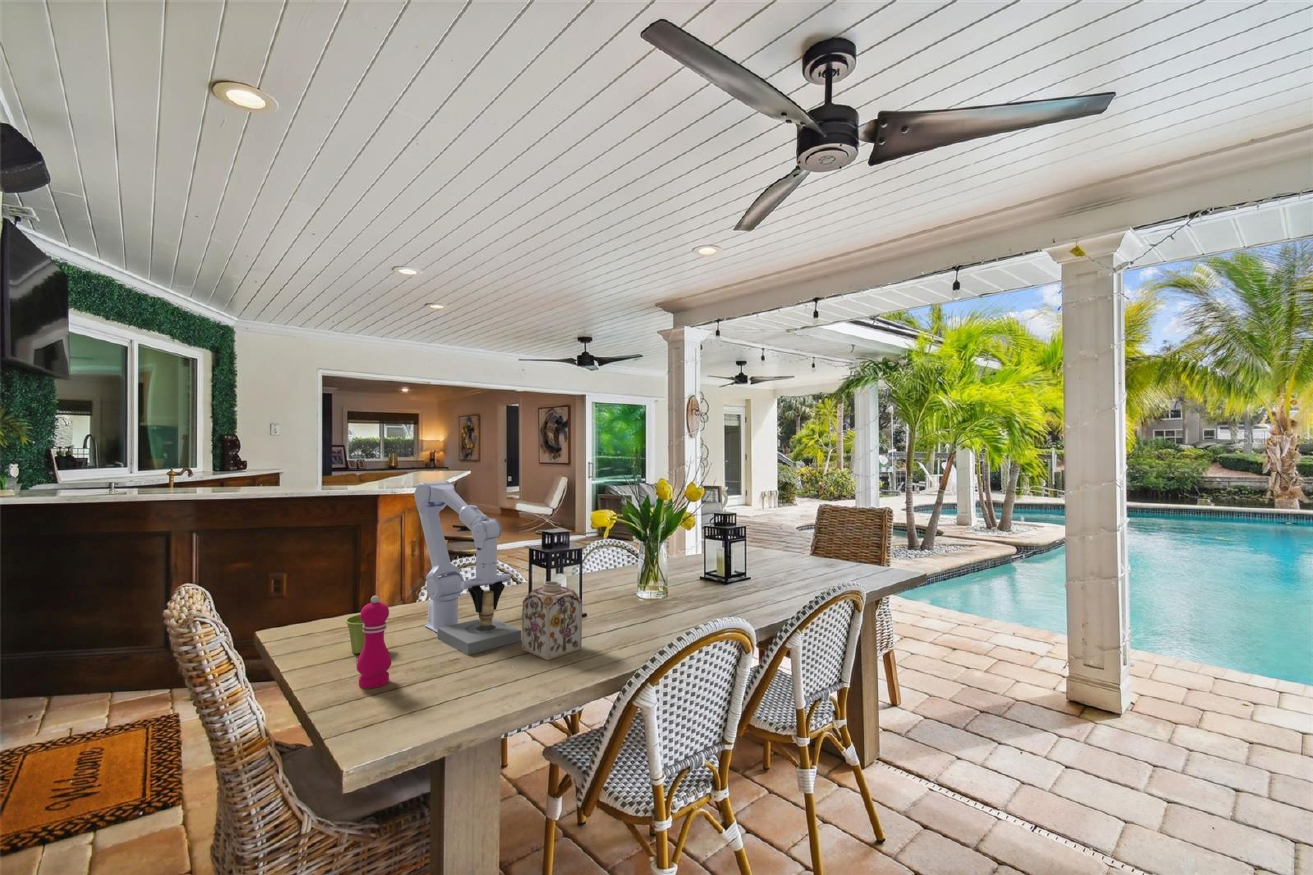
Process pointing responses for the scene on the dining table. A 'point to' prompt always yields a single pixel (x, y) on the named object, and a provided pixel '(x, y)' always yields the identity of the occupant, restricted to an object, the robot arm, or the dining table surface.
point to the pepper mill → (374, 646)
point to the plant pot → (356, 633)
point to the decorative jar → (552, 621)
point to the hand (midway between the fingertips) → (486, 610)
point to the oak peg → (487, 608)
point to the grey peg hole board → (478, 636)
